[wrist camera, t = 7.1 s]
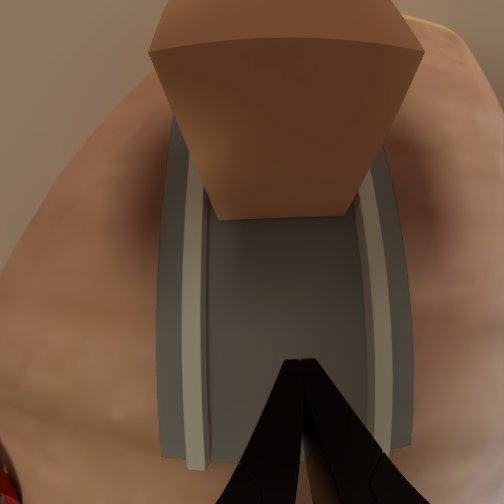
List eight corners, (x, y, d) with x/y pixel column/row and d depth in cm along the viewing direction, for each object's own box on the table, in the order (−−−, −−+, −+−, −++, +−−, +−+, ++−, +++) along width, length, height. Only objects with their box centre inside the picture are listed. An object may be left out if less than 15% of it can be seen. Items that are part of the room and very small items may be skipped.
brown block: (344, 216, 15) (424, 51, 5) (218, 220, 15) (148, 52, 5) (330, 132, 16) (365, -31, 6) (221, 135, 16) (180, -29, 7)
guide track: (399, 437, 13) (461, 478, 7) (170, 447, 14) (116, 498, 7) (362, 108, 18) (386, 34, 12) (181, 114, 19) (153, 40, 13)
